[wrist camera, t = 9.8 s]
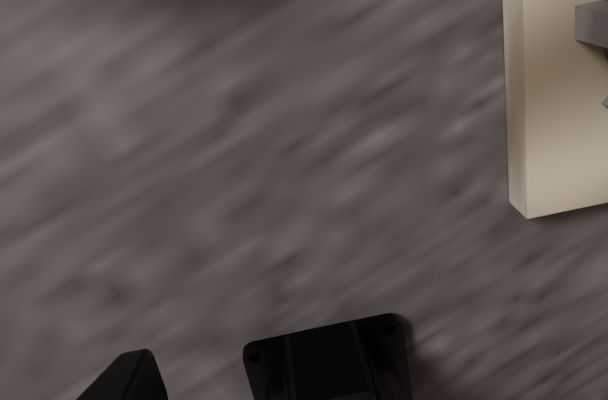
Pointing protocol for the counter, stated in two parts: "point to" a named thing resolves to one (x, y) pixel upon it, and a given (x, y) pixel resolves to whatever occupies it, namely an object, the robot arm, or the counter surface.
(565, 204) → the gear board
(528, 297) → the counter surface
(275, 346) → the robot arm
